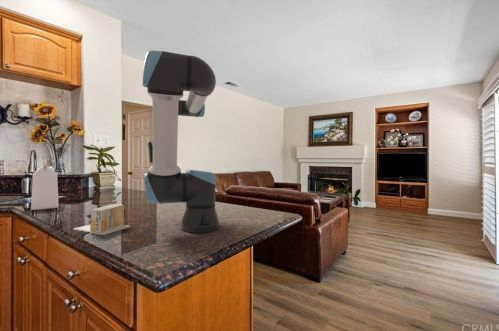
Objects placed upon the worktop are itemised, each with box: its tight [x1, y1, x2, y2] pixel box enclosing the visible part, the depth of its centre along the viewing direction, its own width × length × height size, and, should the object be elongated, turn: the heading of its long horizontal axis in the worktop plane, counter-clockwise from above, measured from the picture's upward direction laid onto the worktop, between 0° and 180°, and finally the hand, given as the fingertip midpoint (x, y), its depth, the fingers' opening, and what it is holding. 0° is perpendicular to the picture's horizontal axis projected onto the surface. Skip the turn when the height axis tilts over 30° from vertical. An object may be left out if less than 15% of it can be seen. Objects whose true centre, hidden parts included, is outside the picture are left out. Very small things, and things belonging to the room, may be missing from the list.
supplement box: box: [89, 203, 125, 232], centre depth 98 cm, size 8×5×13 cm
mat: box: [72, 224, 131, 236], centre depth 98 cm, size 16×12×1 cm
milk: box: [30, 159, 59, 211], centre depth 140 cm, size 12×12×26 cm
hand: (155, 178), depth 121 cm, fingers closed
